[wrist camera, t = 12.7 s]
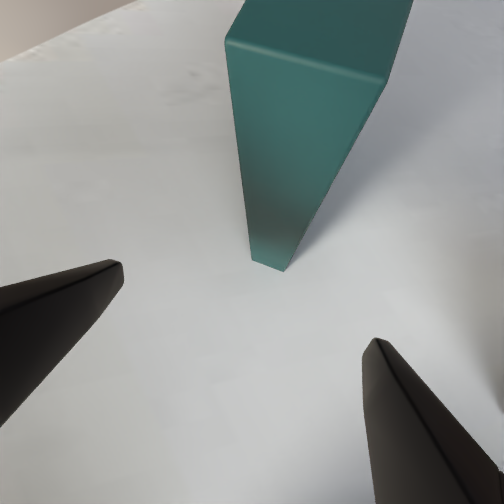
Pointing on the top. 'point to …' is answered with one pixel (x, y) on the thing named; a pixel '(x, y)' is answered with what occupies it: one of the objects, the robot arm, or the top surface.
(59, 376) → the top surface
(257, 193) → the teal book
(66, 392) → the top surface
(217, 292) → the top surface
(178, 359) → the top surface
